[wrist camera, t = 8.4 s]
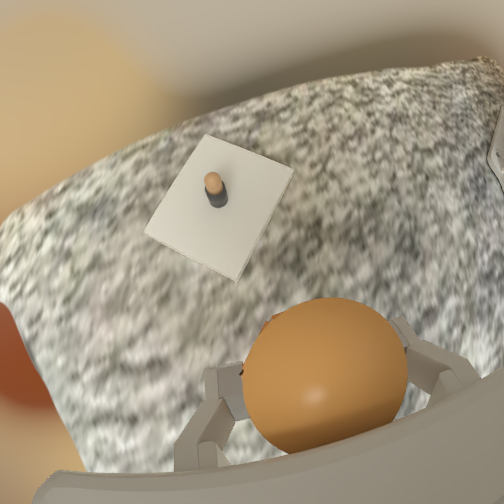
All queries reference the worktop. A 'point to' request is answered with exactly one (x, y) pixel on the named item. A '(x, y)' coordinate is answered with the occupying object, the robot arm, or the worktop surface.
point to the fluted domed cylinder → (323, 374)
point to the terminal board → (222, 224)
